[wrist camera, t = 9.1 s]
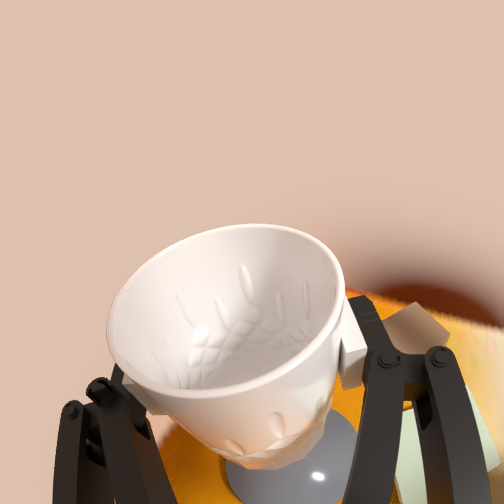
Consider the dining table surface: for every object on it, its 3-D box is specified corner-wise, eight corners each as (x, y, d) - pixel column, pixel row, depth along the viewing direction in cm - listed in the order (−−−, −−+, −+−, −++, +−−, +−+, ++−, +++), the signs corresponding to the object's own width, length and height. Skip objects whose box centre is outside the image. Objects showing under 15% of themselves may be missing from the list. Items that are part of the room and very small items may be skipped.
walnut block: (407, 335, 27) (415, 301, 25) (436, 366, 23) (450, 333, 20) (370, 357, 27) (374, 325, 24) (398, 393, 22) (408, 363, 20)
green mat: (463, 389, 20) (467, 384, 19) (496, 467, 12) (501, 463, 12) (377, 424, 20) (379, 419, 20) (402, 514, 13) (405, 513, 12)
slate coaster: (345, 393, 24) (345, 389, 24) (372, 502, 15) (374, 500, 14) (226, 414, 25) (224, 411, 24) (229, 524, 15) (227, 523, 15)
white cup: (197, 376, 18) (129, 250, 13) (316, 349, 18) (302, 206, 13) (204, 490, 12) (83, 408, 6) (356, 458, 12) (392, 347, 6)
